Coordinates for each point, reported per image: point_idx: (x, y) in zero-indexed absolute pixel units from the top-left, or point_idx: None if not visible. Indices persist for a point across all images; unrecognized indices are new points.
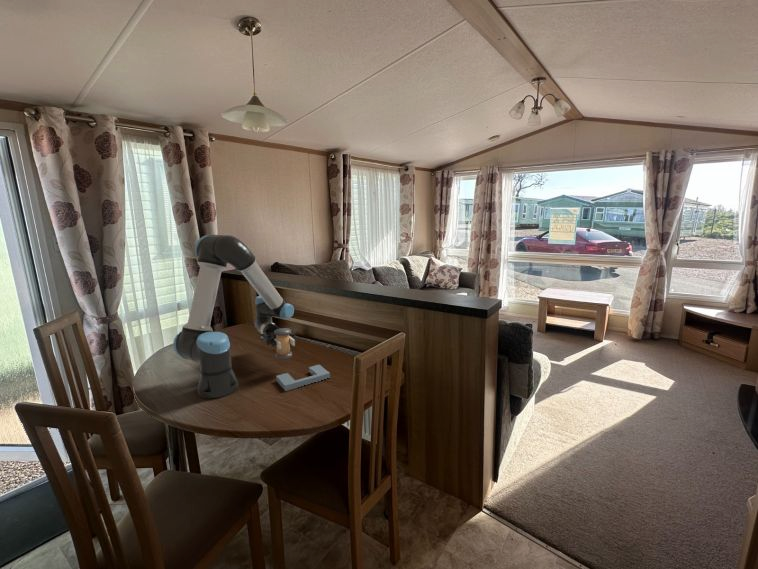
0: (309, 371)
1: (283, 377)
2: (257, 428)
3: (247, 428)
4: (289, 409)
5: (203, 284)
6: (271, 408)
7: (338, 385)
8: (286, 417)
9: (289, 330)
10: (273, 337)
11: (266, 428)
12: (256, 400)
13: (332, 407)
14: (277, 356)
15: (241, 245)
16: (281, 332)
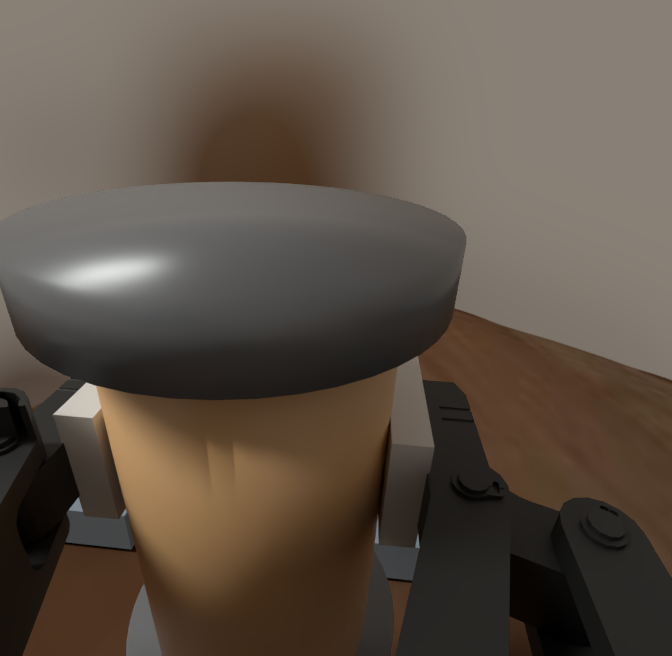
0: (132, 538)
1: None
2: (539, 340)
3: (571, 351)
4: (427, 353)
5: None
6: (490, 382)
7: None
8: (447, 335)
9: (150, 189)
10: (422, 586)
11: (512, 331)
12: (560, 455)
13: None
14: (381, 573)
15: None
16: (338, 193)
